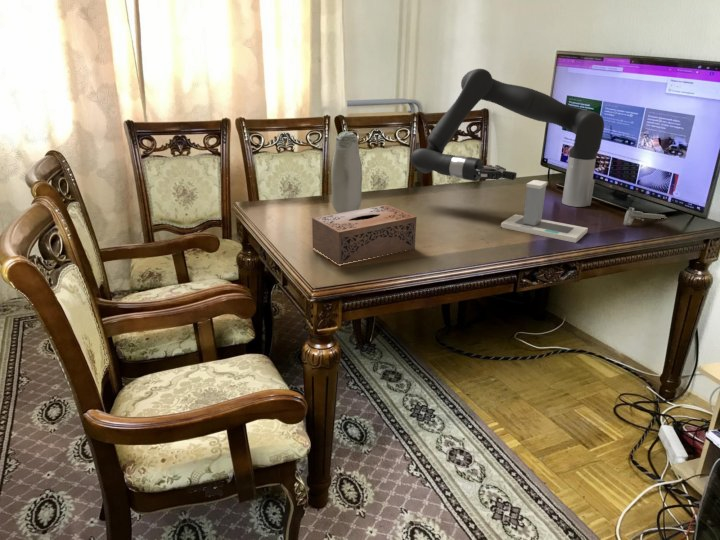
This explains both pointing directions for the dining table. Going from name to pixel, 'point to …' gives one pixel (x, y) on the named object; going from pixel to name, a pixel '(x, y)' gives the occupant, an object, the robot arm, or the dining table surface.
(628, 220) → the caliper
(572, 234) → the switch panel
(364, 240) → the tissue box cover
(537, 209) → the switch tab
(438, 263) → the dining table surface
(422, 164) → the robot arm
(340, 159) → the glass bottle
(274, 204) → the dining table surface
